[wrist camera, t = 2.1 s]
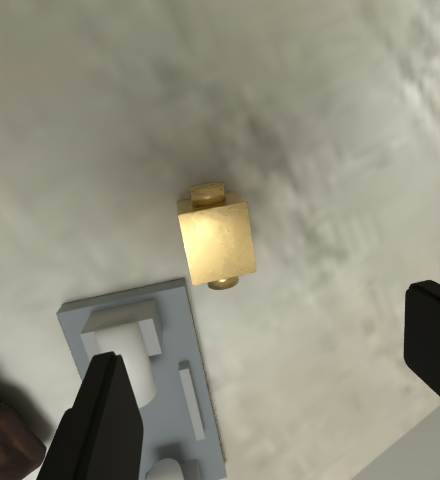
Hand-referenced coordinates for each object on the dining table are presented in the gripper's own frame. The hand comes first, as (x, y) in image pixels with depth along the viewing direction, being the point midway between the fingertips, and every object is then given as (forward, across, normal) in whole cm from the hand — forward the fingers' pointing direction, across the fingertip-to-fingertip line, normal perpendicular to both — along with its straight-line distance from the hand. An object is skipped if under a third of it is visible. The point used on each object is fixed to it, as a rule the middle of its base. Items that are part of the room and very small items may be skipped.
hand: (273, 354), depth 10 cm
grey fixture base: (+16, +8, +15) cm, 23 cm away
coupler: (+16, 0, 0) cm, 16 cm away
